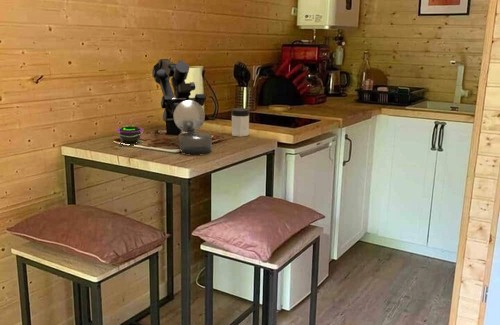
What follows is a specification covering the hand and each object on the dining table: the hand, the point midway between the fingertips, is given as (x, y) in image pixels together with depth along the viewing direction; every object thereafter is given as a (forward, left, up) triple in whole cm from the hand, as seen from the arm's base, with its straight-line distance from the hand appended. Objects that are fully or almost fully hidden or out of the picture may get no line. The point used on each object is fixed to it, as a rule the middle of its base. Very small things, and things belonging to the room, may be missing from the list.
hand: (187, 117), depth 211 cm
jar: (+19, +24, -12) cm, 33 cm away
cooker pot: (+5, -9, -12) cm, 16 cm away
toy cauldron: (-24, -5, -13) cm, 27 cm away
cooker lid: (+1, -2, +1) cm, 3 cm away
